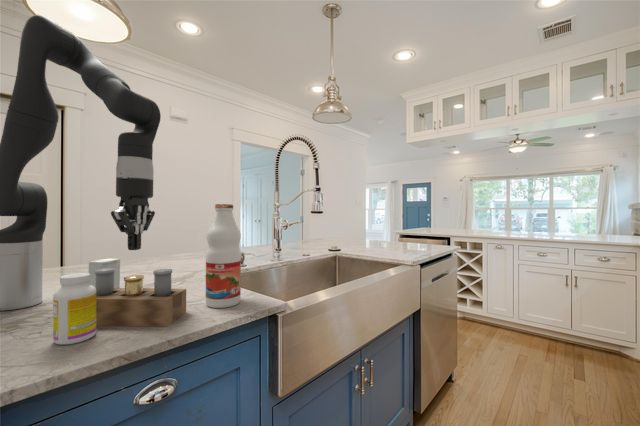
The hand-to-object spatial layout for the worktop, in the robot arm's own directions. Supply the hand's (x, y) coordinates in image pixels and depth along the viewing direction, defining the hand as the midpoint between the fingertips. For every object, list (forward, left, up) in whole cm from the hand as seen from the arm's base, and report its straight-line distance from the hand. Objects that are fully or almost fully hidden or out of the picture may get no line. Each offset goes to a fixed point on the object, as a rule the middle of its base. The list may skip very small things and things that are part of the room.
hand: (134, 249), depth 68 cm
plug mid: (0, 0, -14) cm, 14 cm away
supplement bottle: (-5, -11, -17) cm, 21 cm away
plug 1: (-7, 0, -12) cm, 14 cm away
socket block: (0, 0, -17) cm, 17 cm away
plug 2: (+7, 0, -12) cm, 14 cm away
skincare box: (-16, +11, -17) cm, 25 cm away
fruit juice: (+17, +12, -17) cm, 27 cm away
